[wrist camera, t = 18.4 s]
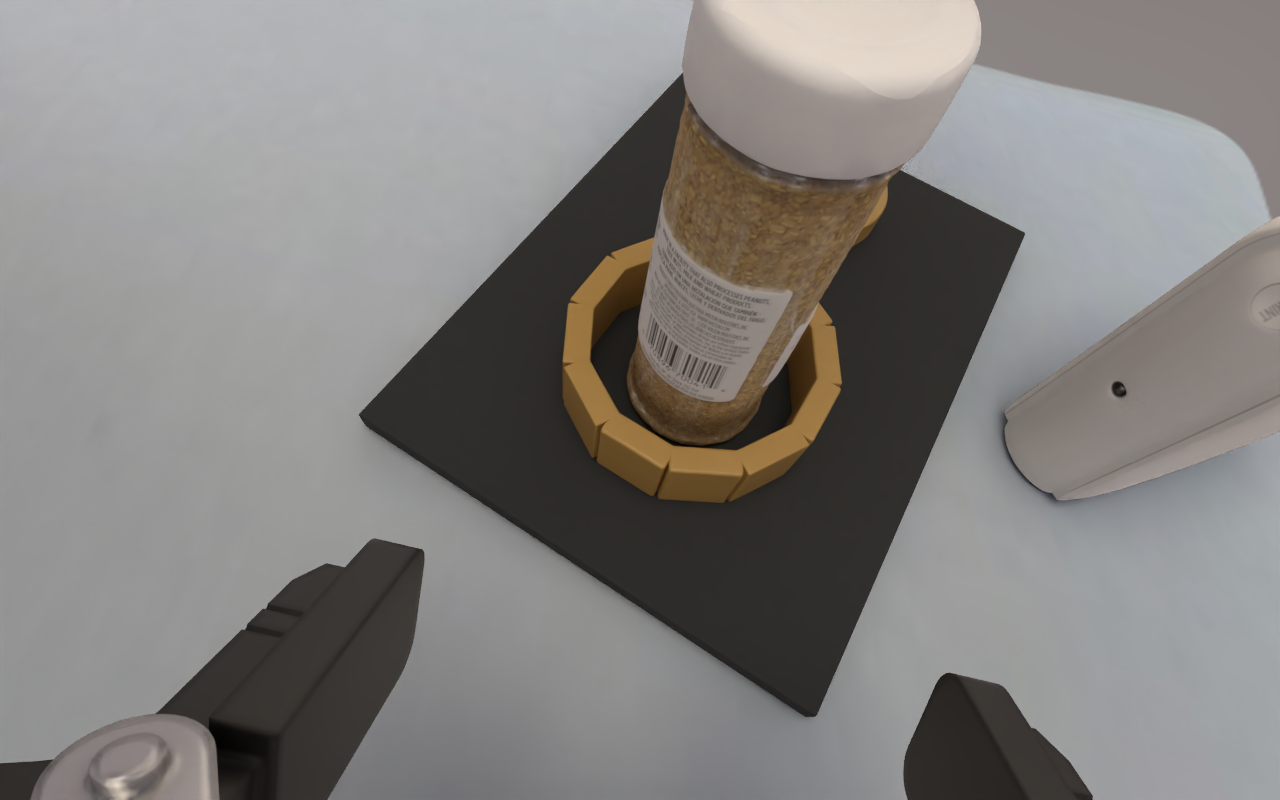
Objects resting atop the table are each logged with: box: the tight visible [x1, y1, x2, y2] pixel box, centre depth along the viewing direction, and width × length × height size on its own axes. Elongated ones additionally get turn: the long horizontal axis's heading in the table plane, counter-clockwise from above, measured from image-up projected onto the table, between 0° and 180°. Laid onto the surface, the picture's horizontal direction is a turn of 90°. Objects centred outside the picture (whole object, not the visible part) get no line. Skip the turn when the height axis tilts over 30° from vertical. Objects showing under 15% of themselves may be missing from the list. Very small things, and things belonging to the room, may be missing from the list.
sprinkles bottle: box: [627, 0, 981, 446], centre depth 16 cm, size 5×5×14 cm
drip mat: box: [359, 73, 1025, 717], centre depth 24 cm, size 16×21×1 cm
